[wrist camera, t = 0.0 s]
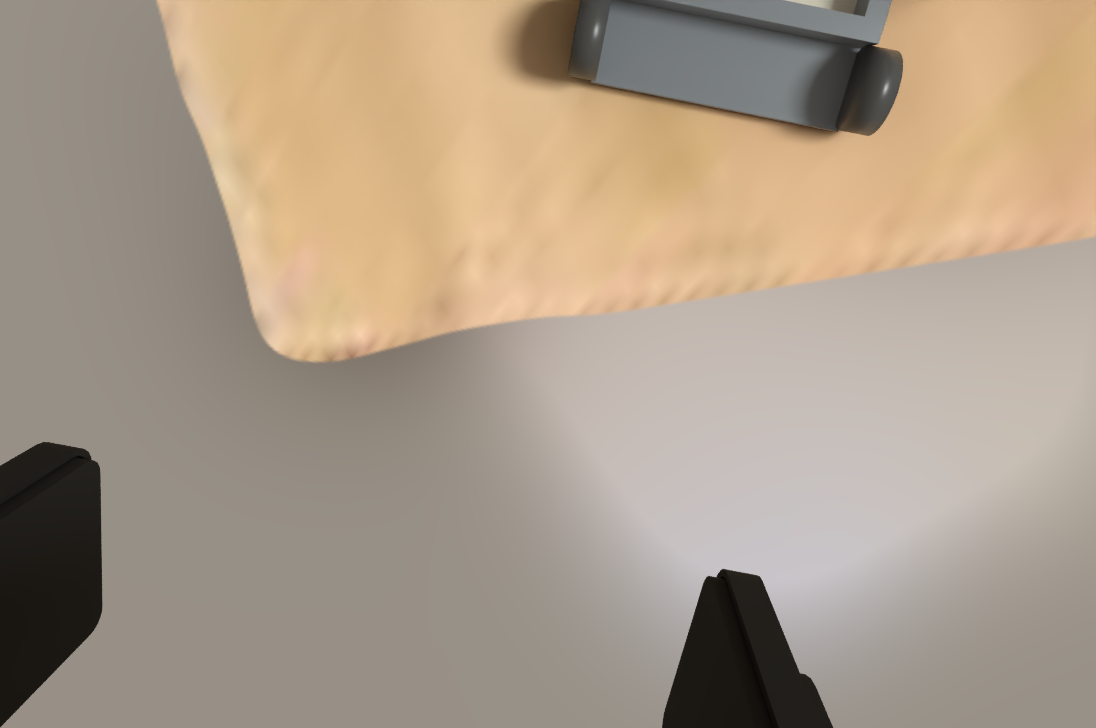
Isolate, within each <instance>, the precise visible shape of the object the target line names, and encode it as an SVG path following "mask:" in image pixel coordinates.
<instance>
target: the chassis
mask: <svg viewBox="0 0 1096 728" xmlns="http://www.w3.org/2000/svg"><path fill="white" fill-rule="evenodd" d="M891 2H892V0H581V1H580V6H579V11H578V17H577V22H576V27H575V33H574V39H573V44H572V50H571V56H570V63H569V69H568V76H571V77H576V78H581V79H586V80H591V83H593V84H598V85H603V86H608V87H613V88H618V89H623V90H628V91H633V92H638V93H643V94H648V95H653V96H658V97H663V98H668V99H673V100H678V101H683V102H688V103H693V104H698V105H703V106H708V107H713V108H718V109H723V110H728V111H733V112H738V113H743V114H748V115H753V116H758V117H763V118H768V119H773V120H778V121H783V122H788V123H793V124H798V125H803V126H808V127H813V128H818V129H823V130H828V131H838V130H841V131H846V132H851V133H856V134H861V135H866V136H870V135H872V134H873V133H875V132H876V131H877V130H878V129H879V128H880V126H881V125H882V124H883V122H884V121H885V119H886V118H887V116H888V114H889V112H890V110H891V108H892V106H893V104H894V101H895V99H896V96H897V93H898V90H899V86H900V82H901V78H902V71H903V59H902V55H901V54H900V52H899V51H895V50H890V49H885V48H880V47H875V46H872V45H876V44H879V41H880V37H881V34H882V31H883V28H884V24H885V21H886V18H887V15H888V11H889V8H890V5H891Z"/></svg>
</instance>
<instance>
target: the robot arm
mask: <svg viewBox="0 0 1096 728" xmlns="http://www.w3.org/2000/svg"><path fill="white" fill-rule="evenodd" d="M100 488H101V487H100V467H99V465H98V463H97V462H95V461H93V460H91V456H90V454H89V452H88V451H86V450H85V449H82V448H76V447H71V446H66V445H60V444H54V443H50V442H42V443H40V444H37V445H35V446H34V447H32V448H30V449H29V450H27V451H25V452H23V453H22V454H20V455H18V456H17V457H15V458H13V459H11V460H9V461H8V462H6V463H4V464H2V465H1V466H0V727H1V726H2V725H3V724H4V723H5V722H6V721H7V720H8V719H9V718H10V717H11V716H12V715H13V714H14V713H15V712H16V711H17V710H18V709H19V707H20V706H21V705H22V704H23V703H24V702H25V701H26V700H27V699H28V698H29V697H30V696H31V695H32V694H33V693H34V692H35V691H36V690H37V689H38V688H39V687H40V686H41V685H42V684H43V683H44V682H45V681H46V680H47V679H48V678H49V677H50V676H51V674H53V673H54V671H55V670H56V669H57V668H58V667H59V666H60V665H61V664H62V663H63V662H64V661H65V660H66V659H67V658H68V657H69V656H70V655H71V654H72V653H73V652H74V651H75V650H76V649H77V648H78V647H79V646H80V645H81V644H82V642H84V641H85V640H86V639H87V638H88V636H89V635H90V634H91V633H92V632H93V631H94V629H95V627H96V625H97V624H98V621H99V619H100V616H101V613H102V557H101V489H100ZM662 728H833V726H832V724H831V722H830V719H829V717H828V715H827V712H826V710H825V708H824V705H823V703H822V701H821V698H820V696H819V694H818V691H817V689H816V687H815V685H814V683H813V681H812V680H811V678H809V677H808V676H807V675H805V674H800V673H799V670H798V668H797V665H796V663H795V660H794V658H793V655H792V653H791V650H790V648H789V645H788V643H787V641H786V638H785V636H784V633H783V631H782V628H781V626H780V623H779V621H778V618H777V616H776V614H775V611H774V608H773V606H772V604H771V601H770V598H769V596H768V594H767V591H766V589H765V586H764V584H763V581H762V579H761V578H760V577H759V576H757V575H752V574H747V573H741V572H736V571H730V570H726V569H722V570H721V571H720V572H719V573H718V575H717V577H710V576H708V577H706V579H705V581H704V583H703V587H702V590H701V593H700V596H699V600H698V603H697V606H696V609H695V613H694V616H693V620H692V623H691V626H690V629H689V632H688V636H687V639H686V642H685V646H684V649H683V652H682V656H681V659H680V662H679V665H678V669H677V673H676V675H675V679H674V682H673V685H672V688H671V692H670V695H669V698H668V702H667V705H666V708H665V712H664V717H663V725H662Z"/></svg>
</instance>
